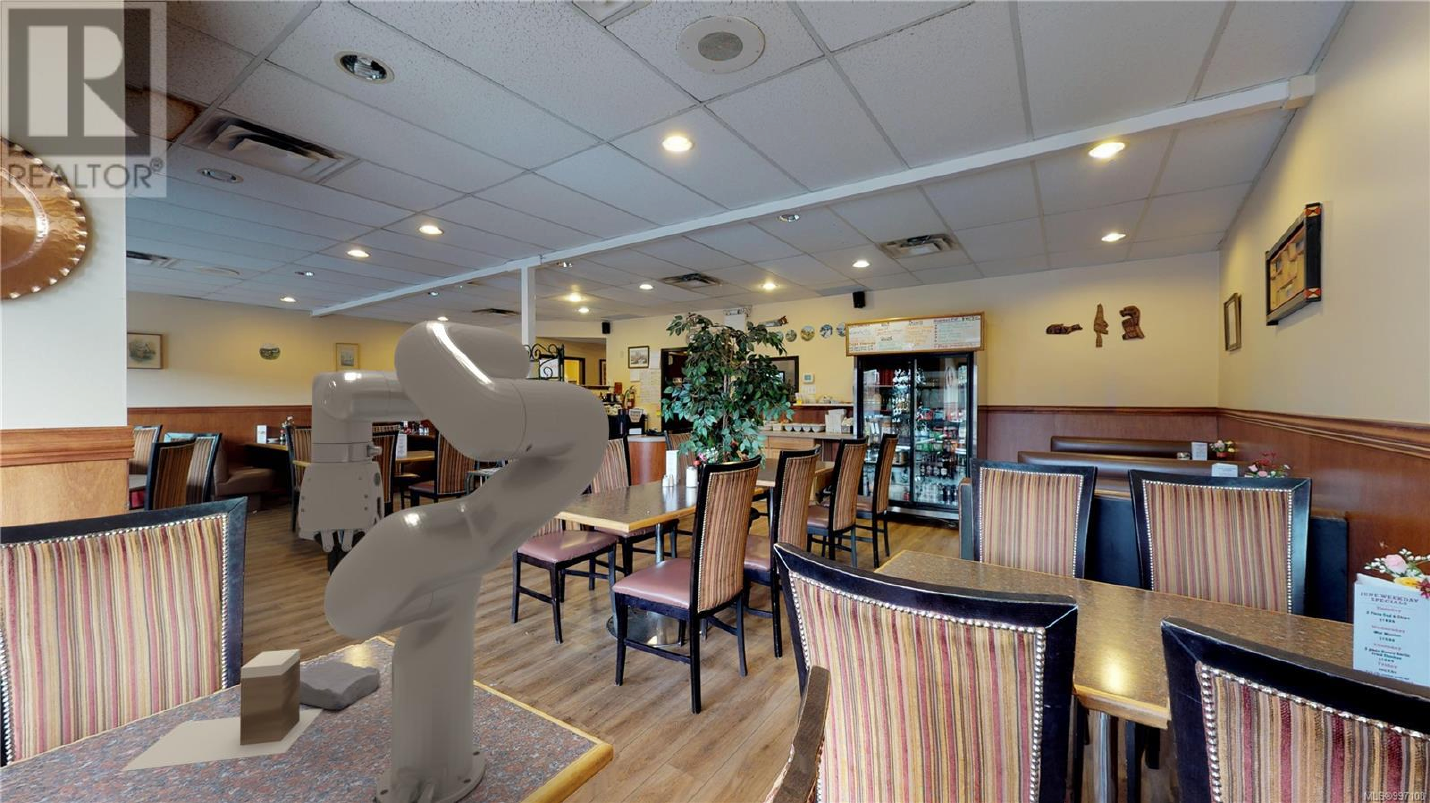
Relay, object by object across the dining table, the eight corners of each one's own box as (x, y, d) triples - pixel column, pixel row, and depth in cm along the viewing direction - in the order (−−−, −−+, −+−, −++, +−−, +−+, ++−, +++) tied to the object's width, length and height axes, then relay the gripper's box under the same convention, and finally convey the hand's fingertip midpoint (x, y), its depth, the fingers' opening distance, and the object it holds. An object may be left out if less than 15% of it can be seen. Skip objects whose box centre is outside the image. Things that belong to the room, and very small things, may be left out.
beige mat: (284, 755, 75) (284, 752, 75) (119, 774, 71) (119, 771, 71) (324, 710, 86) (324, 708, 86) (182, 724, 81) (182, 722, 81)
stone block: (335, 685, 96) (277, 700, 87) (342, 656, 97) (286, 668, 88) (387, 698, 93) (332, 716, 83) (393, 668, 94) (340, 682, 84)
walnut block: (280, 740, 77) (281, 664, 77) (240, 745, 76) (240, 667, 76) (299, 720, 82) (300, 648, 82) (261, 724, 81) (262, 651, 81)
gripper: (405, 451, 86) (404, 565, 86) (299, 452, 83) (297, 570, 83) (387, 456, 79) (386, 580, 79) (270, 457, 76) (268, 587, 76)
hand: (341, 575), depth 81 cm, fingers closed
